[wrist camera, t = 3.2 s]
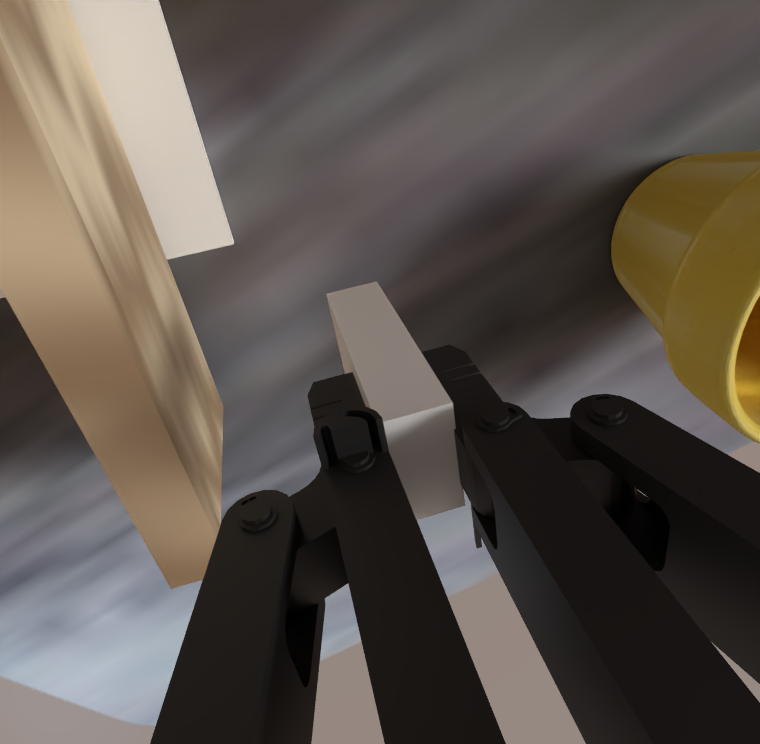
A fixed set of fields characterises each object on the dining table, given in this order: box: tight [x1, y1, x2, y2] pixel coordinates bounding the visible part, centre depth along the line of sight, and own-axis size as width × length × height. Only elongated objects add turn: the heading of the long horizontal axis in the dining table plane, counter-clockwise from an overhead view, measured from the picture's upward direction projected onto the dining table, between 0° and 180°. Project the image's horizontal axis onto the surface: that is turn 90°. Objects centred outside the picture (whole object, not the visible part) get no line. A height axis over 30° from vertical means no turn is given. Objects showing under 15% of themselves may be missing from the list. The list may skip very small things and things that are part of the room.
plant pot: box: [611, 151, 760, 443], centre depth 22 cm, size 10×10×10 cm
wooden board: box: [0, 0, 223, 589], centre depth 16 cm, size 19×2×9 cm, turn 9°
